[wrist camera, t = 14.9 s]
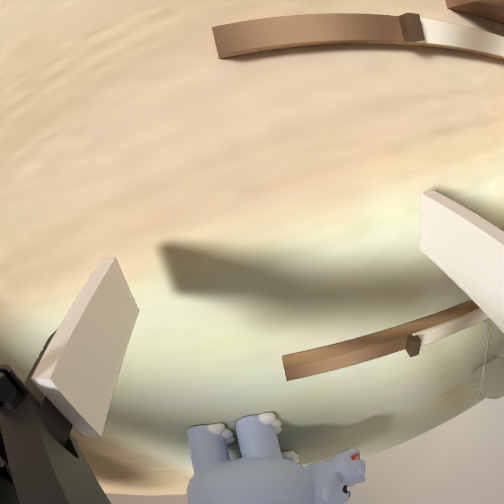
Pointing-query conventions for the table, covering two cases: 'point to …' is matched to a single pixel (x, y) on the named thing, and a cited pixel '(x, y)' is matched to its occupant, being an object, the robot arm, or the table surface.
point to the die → (480, 8)
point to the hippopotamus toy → (264, 468)
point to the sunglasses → (490, 376)
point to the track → (374, 32)
